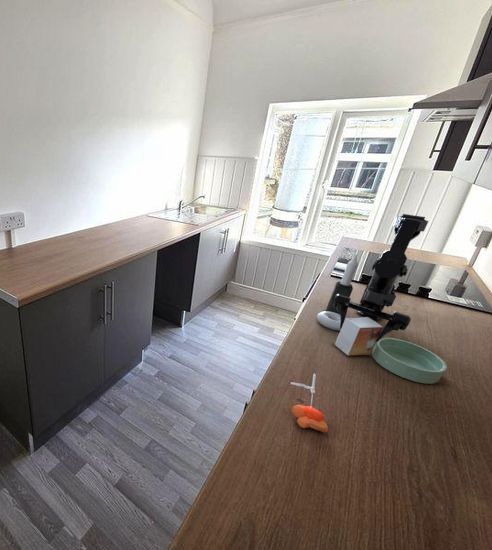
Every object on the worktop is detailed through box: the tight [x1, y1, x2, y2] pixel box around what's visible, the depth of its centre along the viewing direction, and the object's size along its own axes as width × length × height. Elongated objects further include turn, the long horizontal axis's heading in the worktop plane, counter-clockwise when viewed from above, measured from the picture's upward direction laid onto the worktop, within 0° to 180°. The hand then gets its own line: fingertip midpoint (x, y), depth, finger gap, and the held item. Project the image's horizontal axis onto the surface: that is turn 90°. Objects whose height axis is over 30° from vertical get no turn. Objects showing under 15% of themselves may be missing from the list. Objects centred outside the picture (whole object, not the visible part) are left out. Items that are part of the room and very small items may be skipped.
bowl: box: [371, 337, 447, 385], centre depth 87 cm, size 15×15×4 cm
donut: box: [316, 310, 341, 332], centre depth 107 cm, size 10×4×10 cm
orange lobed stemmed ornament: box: [290, 373, 329, 434], centre depth 66 cm, size 6×10×12 cm, turn 39°
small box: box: [334, 316, 384, 357], centre depth 92 cm, size 8×6×10 cm
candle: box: [325, 253, 359, 314], centre depth 109 cm, size 5×5×25 cm
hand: (357, 334), depth 90 cm, fingers closed on small box, 9 cm apart
